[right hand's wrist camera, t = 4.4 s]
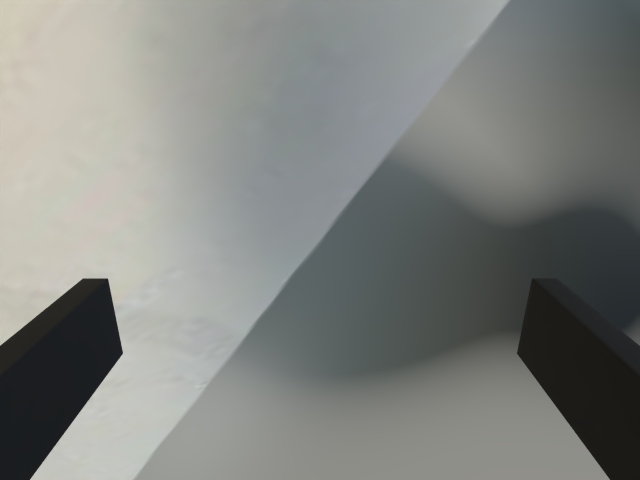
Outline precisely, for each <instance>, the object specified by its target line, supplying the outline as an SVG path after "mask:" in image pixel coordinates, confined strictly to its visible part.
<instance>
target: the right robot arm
mask: <svg viewBox="0 0 640 480" xmlns="http://www.w3.org/2000/svg"><path fill="white" fill-rule="evenodd" d="M122 354H123V351H122V346H121V341H120V336H119V331H118V326H117V321H116V317H115V312H114V307H113V302H112V297H111V292H110V287H109V282H108V279H82V280H81V281H80V282H78V283H77V284H76V285H75V286H73V287H72V288H71V289H70V290H68V291H67V292H66V293H65V294H64V295H62V296H61V297H60V298H59V299H57V300H56V301H55V302H54V303H52V304H51V305H50V306H49V307H48V308H46V309H45V310H44V311H43V312H41V313H40V314H39V315H38V316H36V317H35V318H34V319H33V320H32V321H30V322H29V323H28V324H27V325H25V326H24V327H23V328H22V329H20V330H19V331H18V332H17V333H16V334H14V335H13V336H12V337H11V338H9V339H8V340H7V341H6V342H4V343H3V344H2V345H1V346H0V480H30V479H31V477H32V476H33V475H34V473H35V472H36V471H37V469H38V468H39V467H40V465H41V464H42V462H43V461H44V460H45V458H46V457H47V456H48V454H49V453H50V452H51V450H52V449H53V448H54V446H55V445H56V443H57V442H58V441H59V439H60V438H61V437H62V435H63V434H64V433H65V431H66V430H67V429H68V427H69V426H70V424H71V423H72V422H73V420H74V419H75V418H76V416H77V415H78V414H79V412H80V411H81V410H82V408H83V407H84V405H85V404H86V403H87V401H88V400H89V399H90V397H91V396H92V395H93V393H94V392H95V391H96V389H97V388H98V387H99V385H100V384H101V382H102V381H103V380H104V378H105V377H106V376H107V374H108V373H109V372H110V370H111V369H112V368H113V366H114V365H115V363H116V362H117V361H118V359H119V358H120V357H121V355H122ZM517 354H518V355H519V357H520V358H521V359H522V361H523V362H524V363H525V365H526V366H527V368H528V369H529V370H530V372H531V373H532V374H533V376H534V377H535V378H536V380H537V381H538V382H539V384H540V385H541V386H542V388H543V389H544V391H545V392H546V393H547V395H548V396H549V397H550V399H551V400H552V401H553V403H554V404H555V405H556V407H557V408H558V410H559V411H560V412H561V414H562V415H563V416H564V418H565V419H566V420H567V422H568V423H569V424H570V426H571V427H572V429H573V430H574V431H575V433H576V434H577V435H578V437H579V438H580V439H581V441H582V442H583V443H584V445H585V446H586V448H587V449H588V450H589V452H590V453H591V454H592V456H593V457H594V458H595V460H596V461H597V462H598V464H599V465H600V466H601V468H602V469H603V471H604V472H605V473H606V475H607V476H608V477H609V479H610V480H640V346H639V345H638V344H637V343H635V342H634V341H633V340H632V339H631V338H629V337H628V336H627V335H626V334H624V333H623V332H622V331H621V330H620V329H618V328H617V327H616V326H615V325H613V324H612V323H611V322H610V321H608V320H607V319H606V318H605V317H604V316H602V315H601V314H600V313H599V312H597V311H596V310H595V309H594V308H592V307H591V306H590V305H589V304H587V303H586V302H585V301H584V300H583V299H581V298H580V297H579V296H578V295H576V294H575V293H574V292H573V291H572V290H570V289H569V288H568V287H567V286H565V285H564V284H563V283H562V282H560V281H559V280H558V279H532V282H531V287H530V292H529V297H528V302H527V307H526V312H525V317H524V321H523V326H522V331H521V337H520V341H519V346H518V351H517Z"/></svg>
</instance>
